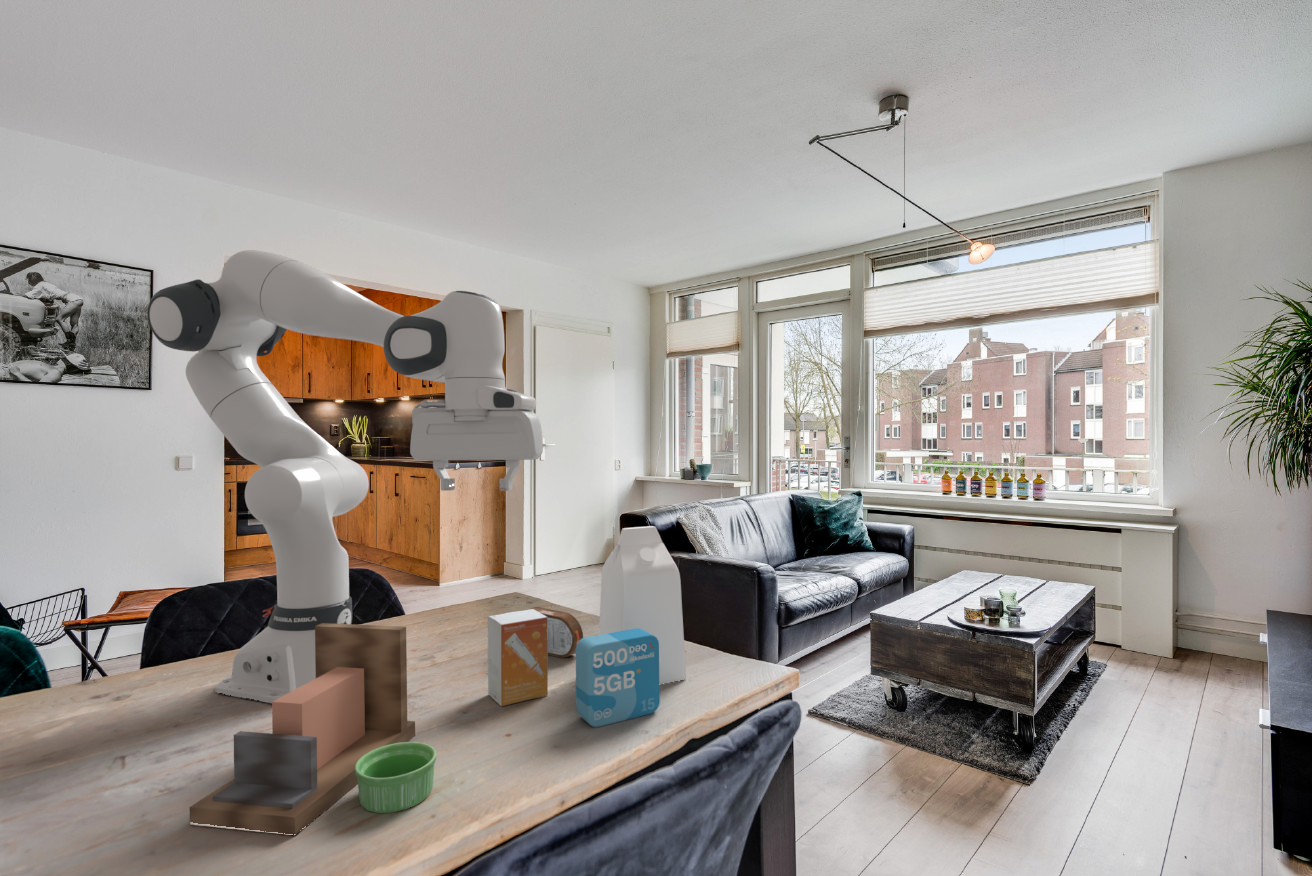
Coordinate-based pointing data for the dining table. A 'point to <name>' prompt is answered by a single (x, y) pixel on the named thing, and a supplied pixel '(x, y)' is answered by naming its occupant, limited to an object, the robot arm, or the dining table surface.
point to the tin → (561, 632)
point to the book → (324, 711)
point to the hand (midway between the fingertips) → (476, 490)
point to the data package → (617, 676)
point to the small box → (517, 656)
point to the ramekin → (395, 776)
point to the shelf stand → (315, 740)
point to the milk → (645, 596)
